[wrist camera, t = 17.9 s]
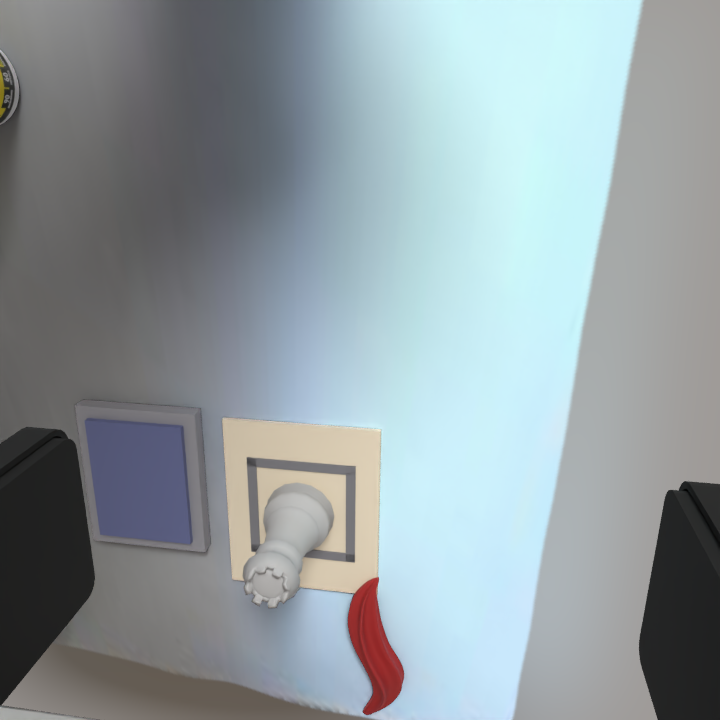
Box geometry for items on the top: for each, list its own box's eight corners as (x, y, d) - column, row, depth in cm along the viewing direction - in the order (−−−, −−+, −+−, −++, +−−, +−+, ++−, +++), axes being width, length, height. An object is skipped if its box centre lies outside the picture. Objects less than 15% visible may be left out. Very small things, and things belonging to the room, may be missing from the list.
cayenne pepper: (393, 719, 49) (391, 742, 47) (331, 704, 49) (326, 726, 47) (425, 587, 44) (424, 607, 42) (356, 571, 44) (352, 591, 43)
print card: (223, 417, 43) (221, 420, 42) (381, 429, 41) (380, 432, 41) (233, 576, 47) (231, 580, 46) (377, 592, 45) (376, 596, 45)
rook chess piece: (305, 551, 45) (270, 637, 37) (254, 507, 44) (210, 584, 37) (350, 512, 43) (324, 593, 36) (298, 465, 43) (261, 538, 35)
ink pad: (83, 399, 44) (71, 407, 43) (200, 408, 43) (192, 417, 41) (101, 532, 47) (90, 543, 46) (210, 543, 46) (202, 555, 45)
